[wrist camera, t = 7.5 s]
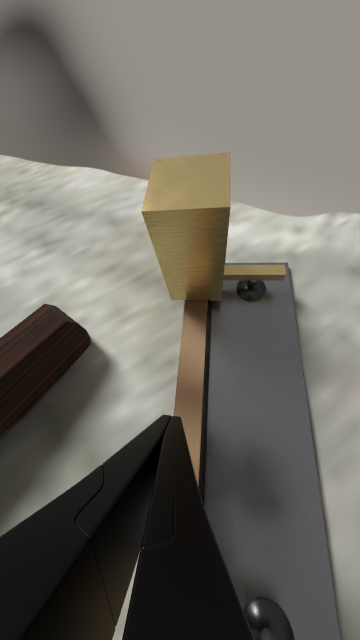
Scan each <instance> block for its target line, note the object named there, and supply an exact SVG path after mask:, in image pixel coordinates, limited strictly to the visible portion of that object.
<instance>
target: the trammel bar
mask: <svg viewBox="0 0 360 640" xmlns="http://www.w3.org/2000/svg"><path fill="white" fill-rule="evenodd" d="M207 310H208V301H205V300H185V308H184V318H183V328H182V338H181V348H180V358H179V368H178V378H177V388H176V398H175V408H174V416H180V417H181V419H182V423H183V427H184V432H185V436H186V440H187V444H188V448H189V452H190V456H191V460H192V464H193V469H194V473H195V477H196V480H197V484H198V488H199V473H200V453H201V432H202V412H203V392H204V371H205V351H206V331H207ZM260 639H261V640H277V638H276V635H275V633H274V632H273V631H272V630H271V629H270V628H264V629H263V630H262V631H261V635H260Z"/></svg>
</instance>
